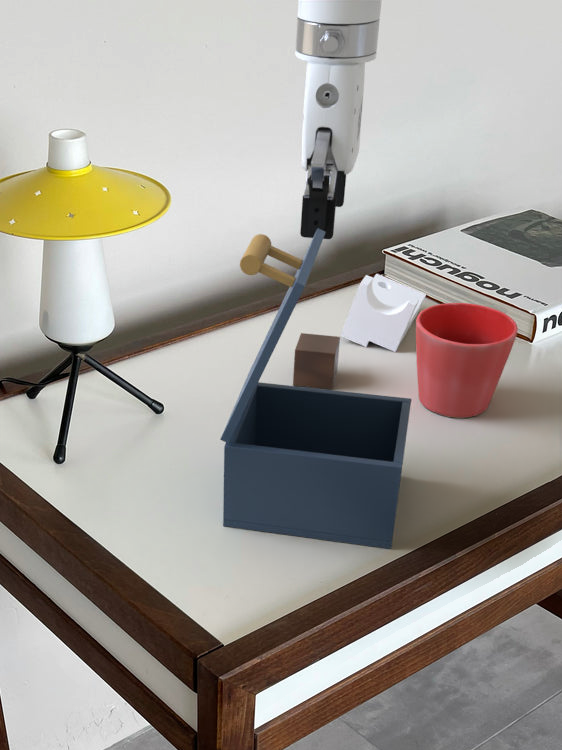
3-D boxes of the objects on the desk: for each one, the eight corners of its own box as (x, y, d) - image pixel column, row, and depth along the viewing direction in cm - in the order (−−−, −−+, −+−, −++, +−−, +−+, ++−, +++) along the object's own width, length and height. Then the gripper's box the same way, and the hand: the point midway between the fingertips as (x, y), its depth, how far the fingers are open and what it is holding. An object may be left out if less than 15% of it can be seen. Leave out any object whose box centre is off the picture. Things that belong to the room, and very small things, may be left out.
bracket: (392, 358, 125) (415, 305, 120) (340, 335, 126) (360, 282, 121) (416, 317, 135) (438, 267, 130) (367, 296, 136) (387, 246, 131)
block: (337, 372, 120) (340, 336, 118) (332, 390, 117) (335, 353, 114) (298, 368, 121) (300, 332, 119) (292, 385, 118) (294, 349, 115)
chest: (401, 475, 102) (411, 398, 97) (391, 549, 92) (402, 467, 87) (248, 456, 105) (251, 381, 100) (222, 526, 95) (224, 446, 90)
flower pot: (523, 404, 113) (539, 324, 108) (460, 436, 108) (475, 353, 102) (448, 370, 120) (460, 293, 115) (385, 399, 115) (395, 319, 109)
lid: (326, 231, 90) (268, 204, 90) (304, 286, 80) (240, 256, 80) (254, 378, 100) (203, 354, 100) (228, 443, 90) (170, 417, 90)
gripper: (369, 61, 86) (350, 254, 96) (384, 24, 100) (366, 196, 110) (282, 56, 88) (272, 247, 98) (308, 21, 101) (298, 191, 111)
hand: (322, 220), depth 104 cm, fingers open, 9 cm apart
